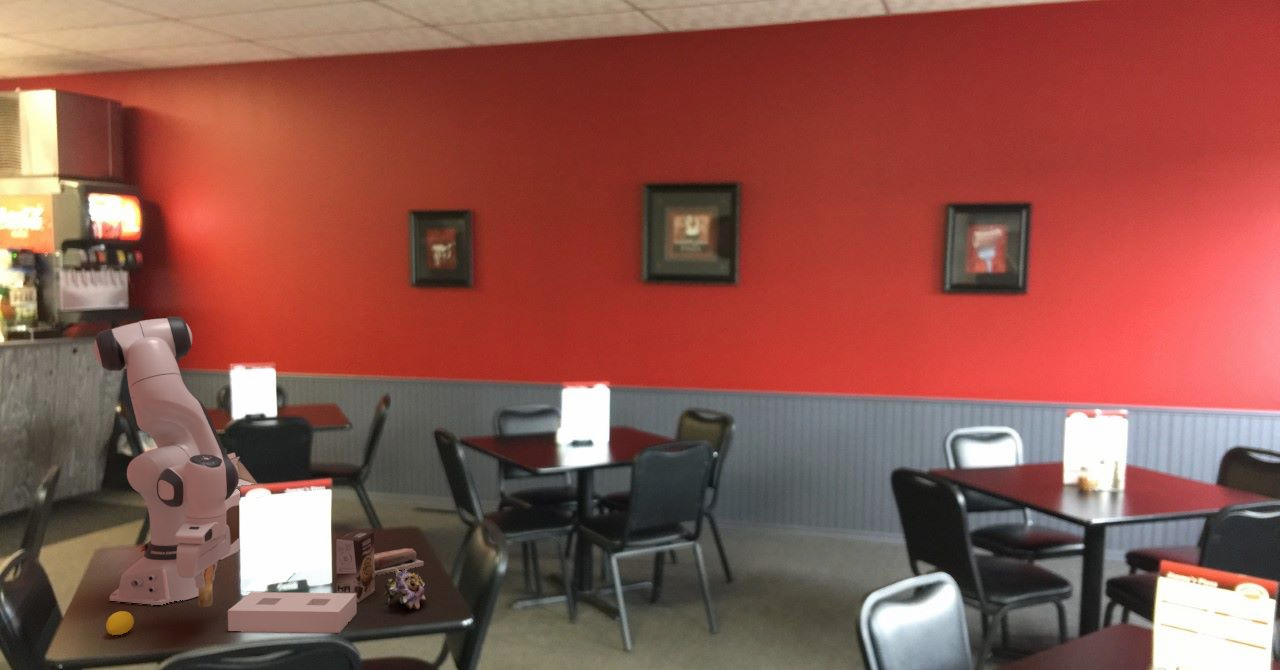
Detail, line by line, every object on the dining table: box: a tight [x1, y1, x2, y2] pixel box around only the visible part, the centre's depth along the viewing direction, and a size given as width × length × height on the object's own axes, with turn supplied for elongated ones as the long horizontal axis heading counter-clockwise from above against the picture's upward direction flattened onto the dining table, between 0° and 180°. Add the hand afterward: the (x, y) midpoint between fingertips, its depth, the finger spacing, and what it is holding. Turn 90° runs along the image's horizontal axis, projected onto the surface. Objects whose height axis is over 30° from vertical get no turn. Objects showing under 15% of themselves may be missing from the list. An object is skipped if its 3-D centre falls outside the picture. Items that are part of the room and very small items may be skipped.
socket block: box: [227, 591, 358, 634], centre depth 235 cm, size 26×13×5 cm, turn 89°
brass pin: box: [197, 564, 214, 608], centre depth 228 cm, size 3×3×10 cm
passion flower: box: [382, 568, 426, 610], centre depth 246 cm, size 11×11×12 cm
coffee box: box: [335, 530, 376, 603], centre depth 253 cm, size 9×6×16 cm
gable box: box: [219, 452, 259, 561], centre depth 295 cm, size 22×13×28 cm, turn 170°
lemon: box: [105, 610, 135, 636], centre depth 227 cm, size 7×5×5 cm
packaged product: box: [374, 548, 425, 577], centre depth 278 cm, size 18×5×10 cm
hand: (205, 584), depth 228 cm, fingers closed on brass pin, 3 cm apart
